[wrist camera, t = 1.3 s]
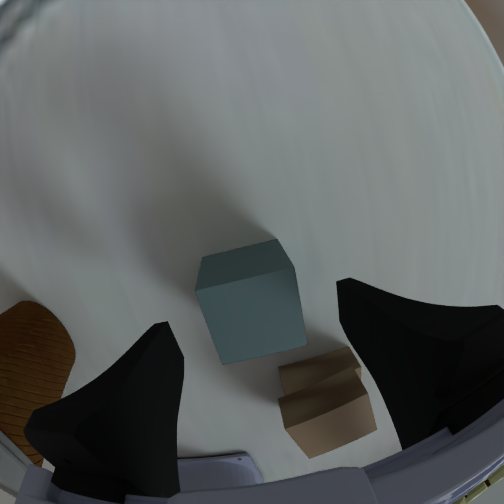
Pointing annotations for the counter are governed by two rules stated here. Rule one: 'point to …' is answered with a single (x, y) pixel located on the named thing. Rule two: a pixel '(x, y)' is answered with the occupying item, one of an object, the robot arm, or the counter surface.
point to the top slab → (328, 413)
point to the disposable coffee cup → (28, 382)
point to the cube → (251, 302)
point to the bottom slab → (317, 369)
